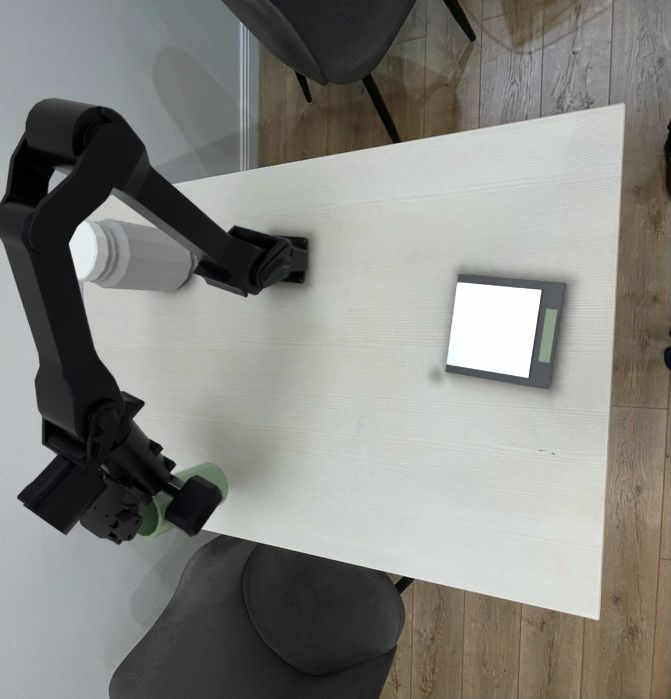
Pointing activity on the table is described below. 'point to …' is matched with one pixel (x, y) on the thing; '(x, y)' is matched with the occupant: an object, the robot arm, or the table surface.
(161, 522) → the tumbler
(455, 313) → the scale
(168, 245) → the jar
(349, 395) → the table surface
